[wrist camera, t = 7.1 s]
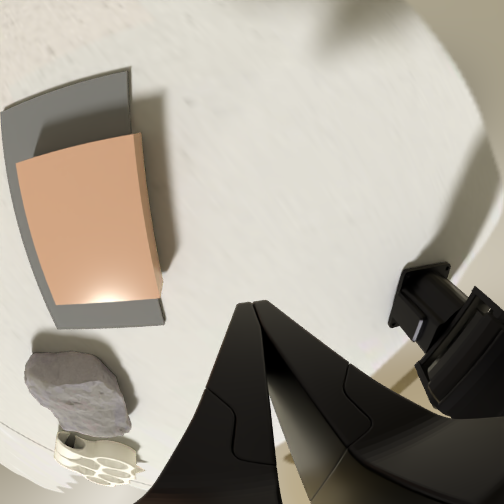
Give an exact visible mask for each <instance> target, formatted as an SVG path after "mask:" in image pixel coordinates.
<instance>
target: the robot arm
mask: <svg viewBox="0 0 504 504" xmlns="http://www.w3.org/2000/svg"><path fill="white" fill-rule="evenodd" d="M450 267H451V266H450V264H449V263H448V262H444V263H438V264H433V265H428V266H422V267H417V268H411V269H406V270H404V271H403V272H402V274H401V278H400V282H399V286H398V290H397V293H396V297H395V301H394V304H393V308H392V311H391V314H390V318H389V321H388V325H389V327H390V328H394V327H398V326H400V327H401V328H402V329H403V330H404V332H405V333H406V334H407V335H408V337H409V338H410V339H411V340H412V341H413V342H416V343H417V344H418V345H419V346H420V348H421V349H422V350H423V351H424V353H425V355H424V356H423V357H422V359H421V360H420V361H418V362H417V363H416V364H415V368H416V370H417V373H418V376H419V378H420V380H421V382H422V385H423V387H424V389H425V391H426V394H427V396H428V398H429V400H430V403H431V404H432V406H433V407H434V408H435V409H438V410H439V411H440V412H442V413H443V414H445V415H447V416H450V417H451V418H446V417H443V416H440V415H437V414H435V413H433V412H431V411H429V410H427V409H425V408H423V407H421V406H419V405H417V404H416V403H414V402H412V401H410V400H408V399H406V398H404V397H403V396H401V395H399V394H397V393H395V392H394V391H392V390H390V389H388V388H387V387H385V386H383V385H382V384H380V383H378V382H377V381H375V380H373V379H372V378H371V377H369V376H368V375H366V374H365V373H363V372H362V371H361V370H359V369H358V368H356V367H355V366H354V365H352V364H349V362H348V361H347V360H345V359H344V358H343V357H341V356H340V355H339V354H337V353H336V352H335V351H333V350H332V349H331V348H329V347H328V346H327V345H325V344H324V343H323V342H321V341H320V340H319V339H317V338H316V337H315V336H313V335H312V334H311V333H309V332H308V331H307V330H305V329H304V328H303V327H301V326H300V325H299V324H297V323H296V322H295V321H294V320H292V319H291V318H290V317H288V316H287V315H286V314H284V313H283V312H282V311H281V310H279V309H278V308H277V307H275V306H274V305H273V304H271V303H270V302H269V301H267V300H261V301H254V302H253V303H251V302H245V303H238V304H237V305H236V308H235V311H234V313H233V316H232V319H231V321H230V324H229V326H228V329H227V332H226V334H225V337H224V340H223V342H222V345H221V348H220V350H219V353H218V356H217V358H216V361H215V364H214V366H213V369H212V371H211V374H210V377H209V379H208V382H207V385H206V389H205V390H204V392H203V395H202V397H201V400H200V402H199V405H198V407H197V409H196V412H195V414H194V416H193V418H192V420H191V422H190V424H189V426H188V428H187V430H186V432H185V433H184V435H183V437H182V439H181V440H180V442H179V444H178V446H177V447H176V449H175V451H174V452H173V454H172V456H171V457H170V459H169V461H168V462H167V464H166V466H165V467H164V469H163V471H162V472H161V474H160V476H159V477H158V479H157V480H156V482H155V483H154V484H153V486H152V487H151V488H150V489H149V491H148V492H147V493H146V494H145V495H144V496H143V497H142V498H140V499H139V500H138V501H137V502H135V503H134V504H282V499H281V494H280V488H279V481H278V473H277V468H276V456H275V445H274V436H273V427H272V418H271V408H270V399H269V395H270V398H271V401H272V404H273V406H274V409H275V412H276V415H277V417H278V420H279V423H280V426H281V428H282V431H283V434H284V436H285V439H286V442H287V444H288V447H289V449H290V452H291V455H292V457H293V460H294V462H295V465H296V468H297V470H298V472H299V475H300V478H301V480H302V483H303V485H304V488H305V490H306V493H307V495H308V498H309V500H310V501H311V504H504V311H503V310H502V309H501V308H500V307H499V306H498V305H497V304H495V303H494V302H493V301H492V300H491V299H490V298H489V297H487V296H486V295H485V294H484V293H483V292H482V291H481V290H479V289H478V288H477V287H476V286H474V288H473V290H472V293H471V294H470V296H469V297H467V296H466V295H465V294H464V293H463V292H462V291H461V290H460V289H458V288H457V287H456V286H455V285H454V284H453V283H452V282H450V281H449V280H448V279H447V277H448V274H449V270H450ZM406 275H407V276H406ZM490 308H491V309H490ZM489 309H490V311H489ZM488 311H489V312H488Z"/></svg>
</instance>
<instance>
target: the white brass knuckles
mask: <svg viewBox="0 0 504 504" xmlns="http://www.w3.org/2000/svg"><path fill="white" fill-rule="evenodd" d="M70 434H71V433H69V432H65V431H61V432H58V433H57V437H56V445H55V453H54V459H55V460H56V461H57V462H58V463H59V464H60V465H62V466H63V467H65V468H67V469H69V470H72V471H74V472H77V473H79V474H81V475H83V476H84V477H85V478H86V479H88V480H89V481H92V482H94V483H97V484H100V485H104V486H111V487H112V486H113V487H115V486H116V485H117V484H128V483H130V480H132V479H136V473H140V472H143V471H145V470H144V469H142V468H141V467H139V466H137V465H136V451H135V450H134V449H132V448H131V447H129V446H127V445H125V444H122V443H119V442H115V441H110V440H98V441H88V440H85V439H83V438H80V437H79V436H76V435H75V444H74V448H70V447H68V446H66V441H67V438H68V437H69V435H70Z"/></svg>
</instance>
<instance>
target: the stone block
mask: <svg viewBox="0 0 504 504" xmlns="http://www.w3.org/2000/svg"><path fill="white" fill-rule="evenodd" d="M24 374H25V377H24V379H25V383H26V385H27V387H28V389H29V392H30V393H31V394H32V395H33V397H34V398H35V399H36V400H37V401H38V402H39V403H40V404H41V405H42V406H44V407H46V408H48V409H49V410H51V411H52V412H53V414H54V416H55V417H56V418H57V419H58V421H59V423H60V426H61V427H62V428H63V429H64V430H66V431H76V432H79V433H81V434H84V435H89V436H92V437H100V438H102V437H104V438H110V437H116V436H123V435H124V433H128V432H129V431H130V429H131V421H130V418H129V416H128V412H127V409H126V403H125V401H124V397H123V394H122V393H121V392H120V390H119V385H118V383H117V378H116V376H115V375H114V374H113V373H112V372H111V371H110V370H109V369H108V368H107V367H106V366H105V365H104V364H103V363H102V361H100V360H99V359H98V358H97V357H96V356H94V355H91V354H84V353H79V352H74V351H69V352H60V353H58V354H57V353H48V352H45V353H33V354H32V355H31V356H30V358H29V360H28V361H27V363H26V365H25V371H24Z"/></svg>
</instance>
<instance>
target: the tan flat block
mask: <svg viewBox="0 0 504 504" xmlns="http://www.w3.org/2000/svg"><path fill="white" fill-rule="evenodd" d="M16 169H17V175H18V180H19V186H20V191H21V196H22V200H23V205H24V209H25V213H26V217H27V221H28V225H29V229H30V232H31V236H32V239H33V243H34V246H35V249H36V252H37V255H38V258H39V261H40V264H41V267H42V270H43V273H44V276H45V278H46V281H47V284H48V286H49V289H50V291H51V294H52V296H53V299H54V301H55V304H56V305H67V304H86V303H102V302H118V301H131V300H144V299H157V298H160V297H161V291H162V286H163V278H162V273H161V268H160V263H159V258H158V253H157V247H156V242H155V236H154V230H153V224H152V218H151V211H150V205H149V198H148V191H147V183H146V175H145V166H144V157H143V147H142V136H141V132H140V133H134V134H128V135H122V136H117V137H112V138H107V139H102V140H97V141H92V142H88V143H84V144H79V145H75V146H71V147H67V148H63V149H60V150H56V151H52V152H49V153H45V154H42V155H39V156H35V157H32V158H29V159H26V160H24V161H21V162H18V163H16Z"/></svg>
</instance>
